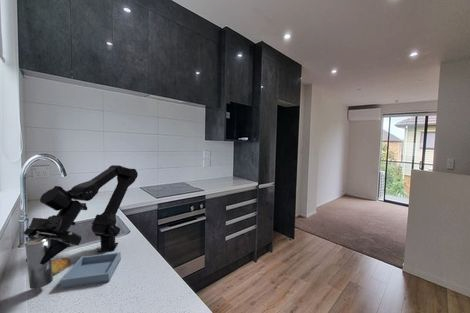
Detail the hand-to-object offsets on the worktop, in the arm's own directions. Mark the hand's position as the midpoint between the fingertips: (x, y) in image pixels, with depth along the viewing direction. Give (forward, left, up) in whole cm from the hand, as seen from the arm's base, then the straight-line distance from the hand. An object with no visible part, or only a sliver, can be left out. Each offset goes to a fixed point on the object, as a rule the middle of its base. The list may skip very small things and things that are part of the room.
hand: (34, 263), depth 67 cm
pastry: (-13, -2, -10) cm, 17 cm away
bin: (-7, +14, -10) cm, 18 cm away
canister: (-1, +1, -8) cm, 8 cm away
